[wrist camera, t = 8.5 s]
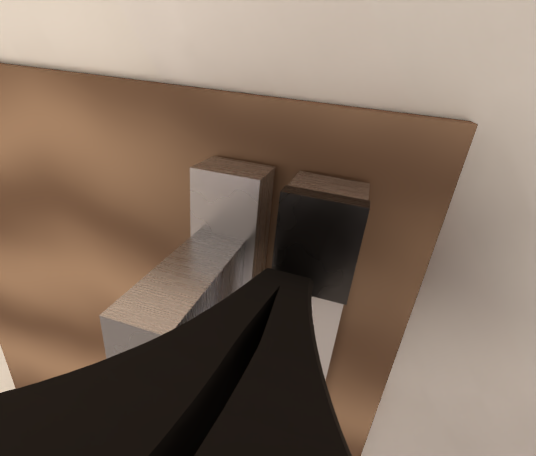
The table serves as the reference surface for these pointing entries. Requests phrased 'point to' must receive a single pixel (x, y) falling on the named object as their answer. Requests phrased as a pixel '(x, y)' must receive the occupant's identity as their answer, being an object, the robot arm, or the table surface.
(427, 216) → the walnut board
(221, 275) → the bar
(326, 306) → the tongs frame
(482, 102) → the table surface
